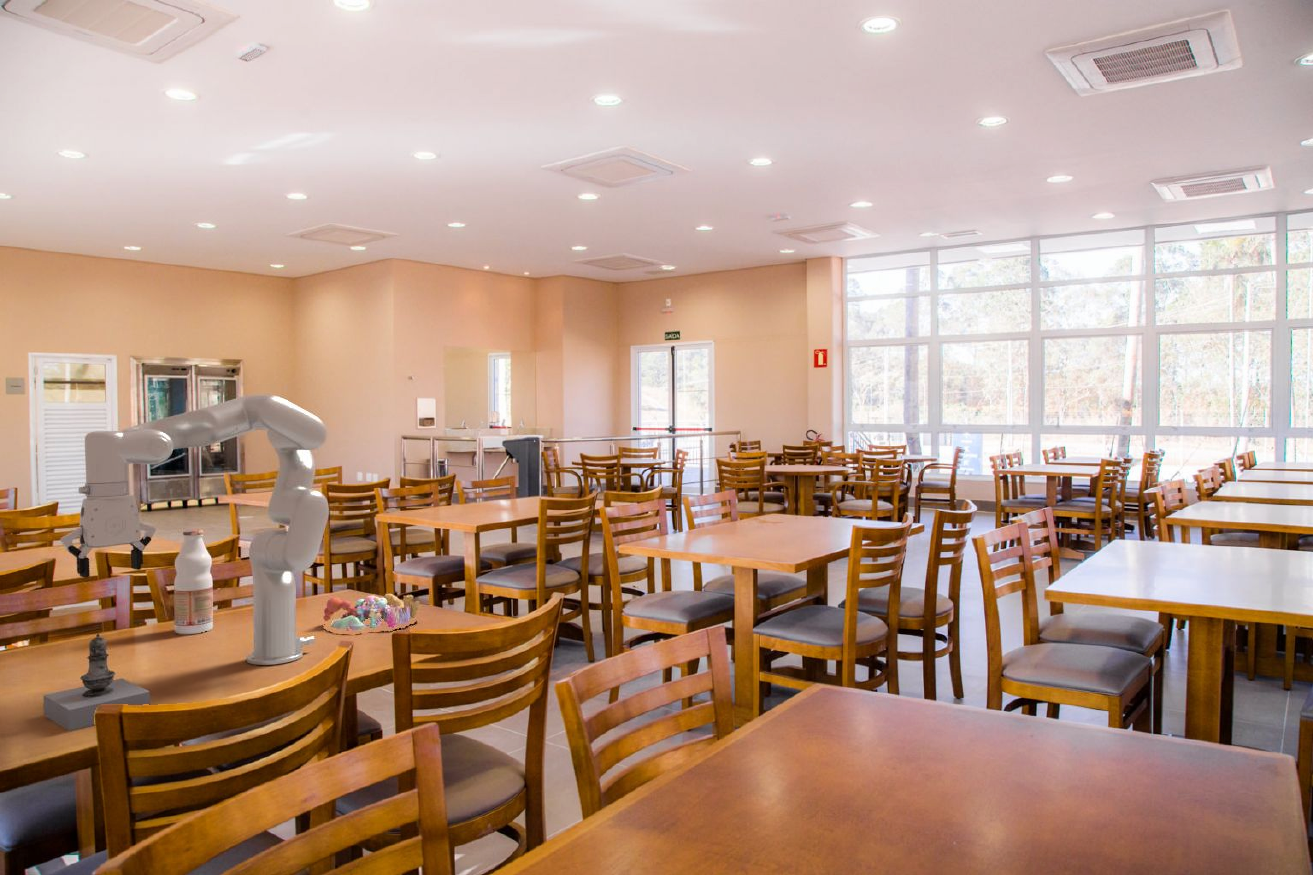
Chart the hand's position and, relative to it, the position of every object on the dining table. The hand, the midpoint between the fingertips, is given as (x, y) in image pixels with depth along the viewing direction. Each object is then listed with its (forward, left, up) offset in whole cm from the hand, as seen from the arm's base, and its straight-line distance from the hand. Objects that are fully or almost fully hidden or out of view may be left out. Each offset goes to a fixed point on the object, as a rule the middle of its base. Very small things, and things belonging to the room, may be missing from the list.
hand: (111, 572), depth 176 cm
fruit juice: (-37, -48, -27) cm, 67 cm away
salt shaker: (+4, +5, -23) cm, 24 cm away
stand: (+5, +6, -27) cm, 28 cm away
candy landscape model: (-72, -16, -28) cm, 79 cm away
